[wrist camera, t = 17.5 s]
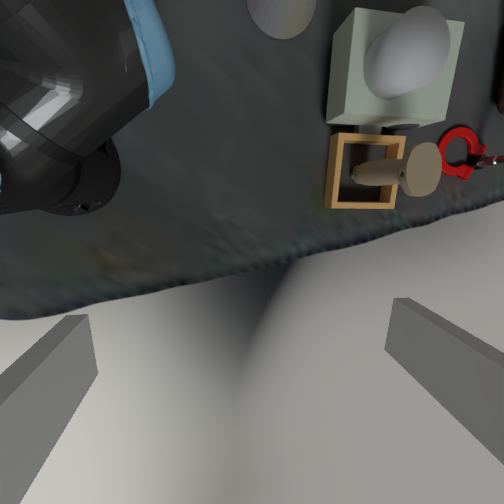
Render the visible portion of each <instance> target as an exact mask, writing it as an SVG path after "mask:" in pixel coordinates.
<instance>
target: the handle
mask: <svg viewBox="0 0 504 504" xmlns="http://www.w3.org/2000/svg"><path fill="white" fill-rule="evenodd" d="M441 171H442V158H441V154H440V152H439V149H438V147H437V145H436V144H434V143H430V142H427V143H421V144H417V145H414V146H412V147H410V148H409V149H407V150H406V151H405V153H404V155H403V158H402V159H385V160H373V161H369V162H365V163H363V164H361V165H356V166H354V167H353V171H352V173H351V174H350V177H351V178H352V179H353V180H354V183H357V184H363V185H369V186H381V185H393V184H401V186H402V188H403V190H404V192H405V193H406V194H407V195H410V196H419V197H421V196H426V195H428V194H430V193H432V192H433V191H434V190H435V189H436V187H437V184H438V182H439V180H440V176H441Z"/></svg>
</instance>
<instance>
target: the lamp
mask: <svg viewBox="0 0 504 504" xmlns="http://www.w3.org/2000/svg"><path fill="white" fill-rule="evenodd" d="M316 1H317V0H246V2H247V7H248V10H249V12H250V15H251V17H252V19H253V20H254V22H255V24H256V25H257V26H258V27H259V28H260V29H261V30H262V31H263V32H264V33H266V34H267V35H269V36H271V37H273V38H278V39H289V38H292V37H295V36H297V35H298V34H300V33H301V32H302V31H303V30H305V28H306V27H307V26H308V25H309V23H310V21H311V19H312V17H313V15H314V11H315V8H316Z"/></svg>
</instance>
